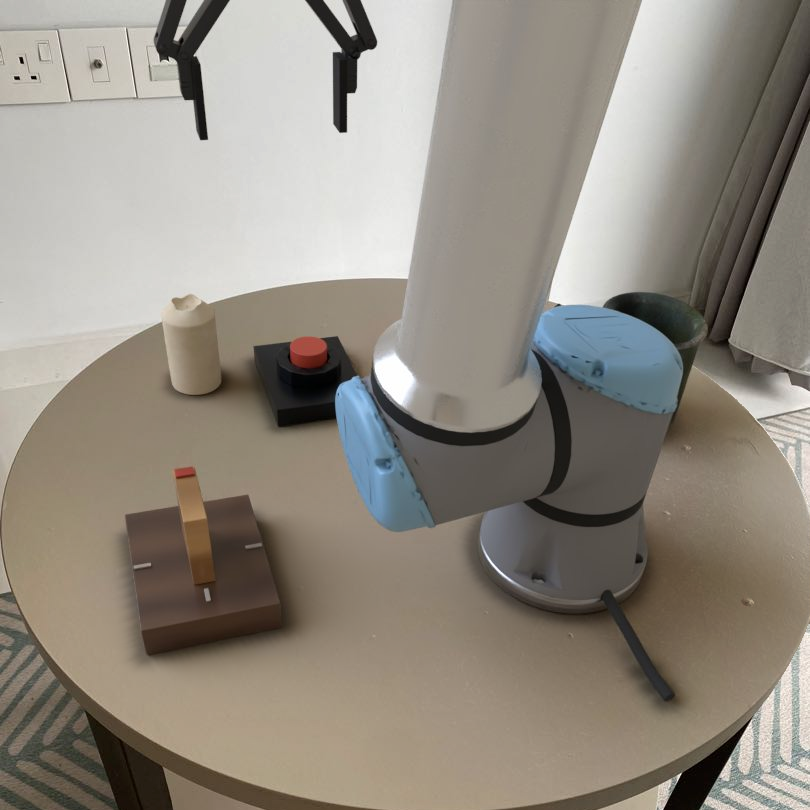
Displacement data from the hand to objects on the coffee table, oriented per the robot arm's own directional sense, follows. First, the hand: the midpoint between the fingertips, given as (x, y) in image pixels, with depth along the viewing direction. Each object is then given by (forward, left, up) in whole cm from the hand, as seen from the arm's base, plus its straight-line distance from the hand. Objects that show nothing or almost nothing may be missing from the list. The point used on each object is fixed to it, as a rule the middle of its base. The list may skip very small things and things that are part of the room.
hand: (272, 132), depth 85 cm
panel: (-34, +15, -25) cm, 45 cm away
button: (-7, -1, -22) cm, 23 cm away
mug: (-22, -34, -26) cm, 48 cm away
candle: (-3, +11, -26) cm, 28 cm away
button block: (-7, -1, -25) cm, 26 cm away
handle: (-34, +15, -22) cm, 43 cm away
